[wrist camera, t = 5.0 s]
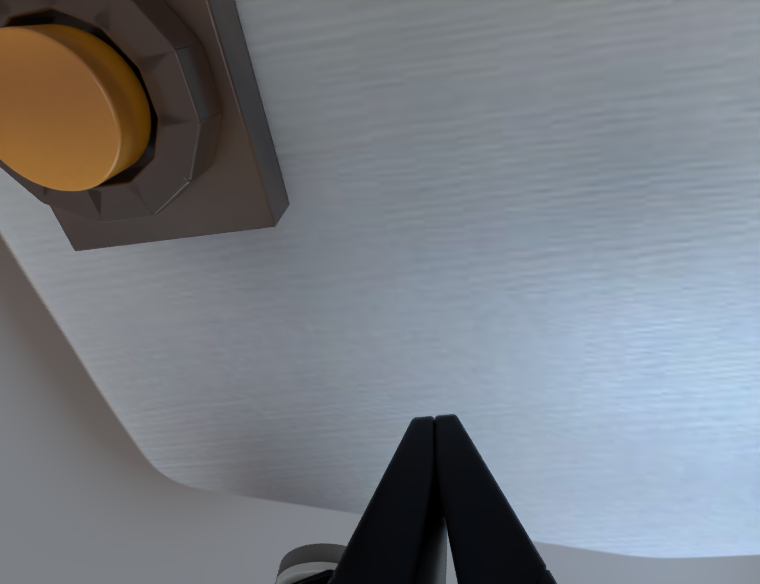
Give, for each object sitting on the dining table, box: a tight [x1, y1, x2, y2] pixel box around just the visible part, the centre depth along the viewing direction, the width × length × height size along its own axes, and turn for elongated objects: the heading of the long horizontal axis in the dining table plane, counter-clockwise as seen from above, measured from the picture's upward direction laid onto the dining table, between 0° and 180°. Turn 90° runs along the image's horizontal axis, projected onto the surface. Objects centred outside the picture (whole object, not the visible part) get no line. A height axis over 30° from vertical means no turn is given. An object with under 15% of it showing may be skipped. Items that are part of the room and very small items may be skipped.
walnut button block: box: [0, 0, 289, 251], centre depth 15 cm, size 10×8×4 cm
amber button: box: [0, 24, 151, 191], centre depth 13 cm, size 4×4×2 cm
